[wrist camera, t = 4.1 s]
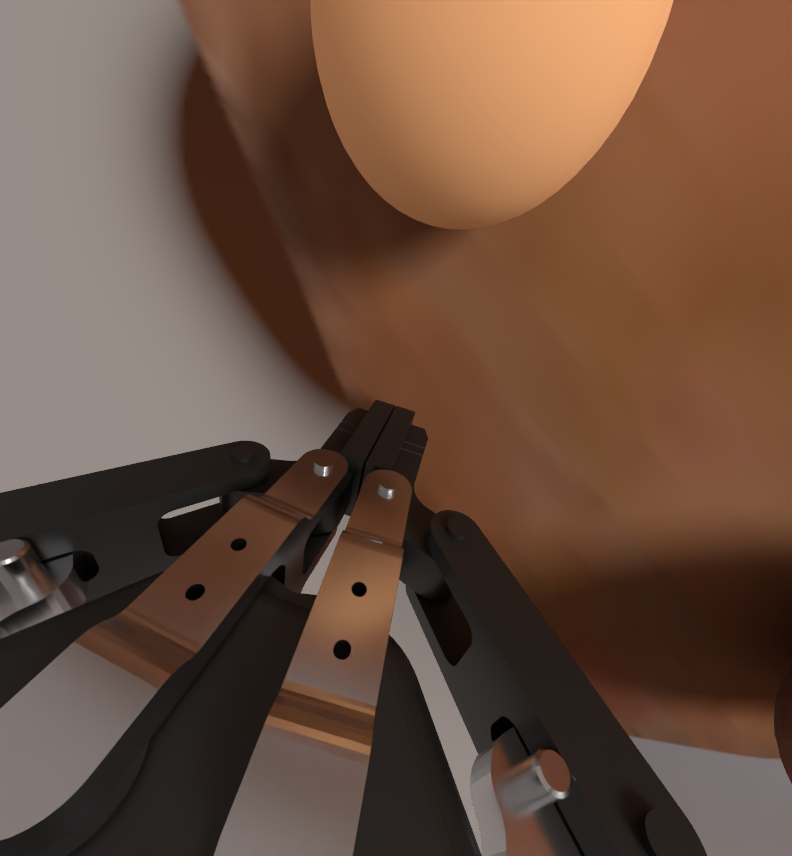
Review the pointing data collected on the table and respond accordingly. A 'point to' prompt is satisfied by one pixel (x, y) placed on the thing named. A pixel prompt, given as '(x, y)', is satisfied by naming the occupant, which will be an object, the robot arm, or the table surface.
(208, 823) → the robot arm
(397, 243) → the table surface
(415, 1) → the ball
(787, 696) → the butternut squash
